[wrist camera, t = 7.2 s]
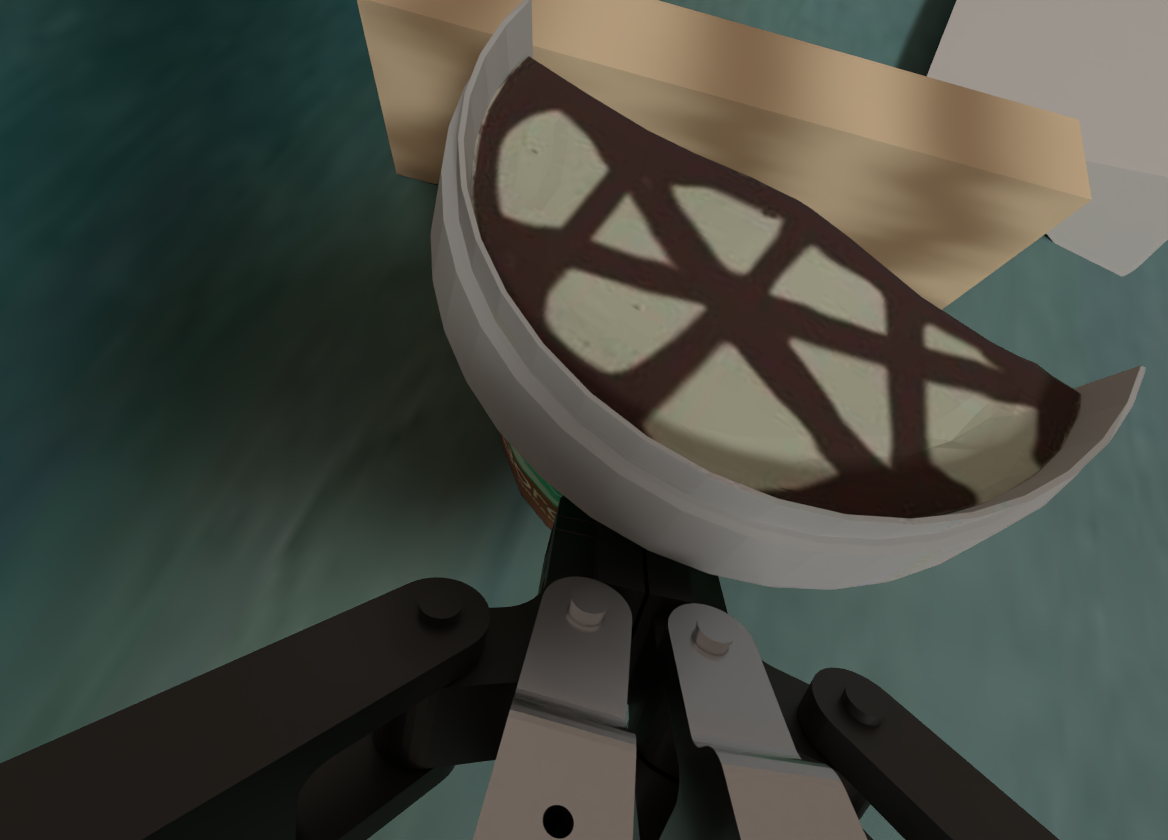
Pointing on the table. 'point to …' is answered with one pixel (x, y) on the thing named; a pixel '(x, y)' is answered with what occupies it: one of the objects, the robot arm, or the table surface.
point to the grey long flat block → (1082, 103)
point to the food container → (723, 353)
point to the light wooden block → (765, 123)
